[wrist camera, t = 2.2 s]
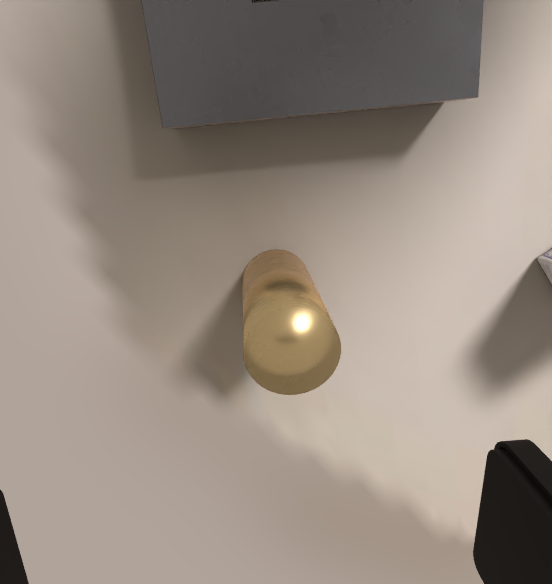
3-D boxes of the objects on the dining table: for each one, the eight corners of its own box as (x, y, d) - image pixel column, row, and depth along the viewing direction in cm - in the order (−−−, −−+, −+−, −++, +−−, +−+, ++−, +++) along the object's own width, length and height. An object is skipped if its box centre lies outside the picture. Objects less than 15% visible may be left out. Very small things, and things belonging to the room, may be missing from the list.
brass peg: (306, 246, 29) (338, 301, 20) (311, 309, 31) (342, 388, 21) (238, 253, 29) (238, 313, 19) (246, 316, 30) (249, 400, 21)
